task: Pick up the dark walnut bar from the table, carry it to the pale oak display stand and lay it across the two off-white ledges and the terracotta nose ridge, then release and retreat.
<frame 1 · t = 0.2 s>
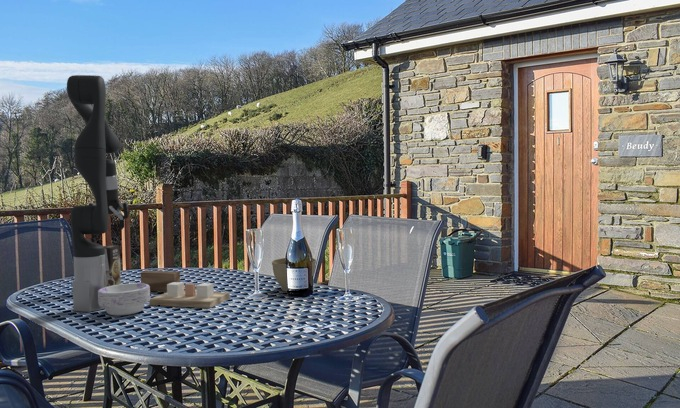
hand: (110, 229, 213), 22 cm above the table, tool pointing down, fingers open, 8 cm apart
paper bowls: (125, 313, 174), on the table
walnut bar: (161, 290, 207), on the table
display stand: (190, 301, 187), on the table
planter bowl: (294, 290, 204), on the table
coffee box: (108, 289, 211), on the table
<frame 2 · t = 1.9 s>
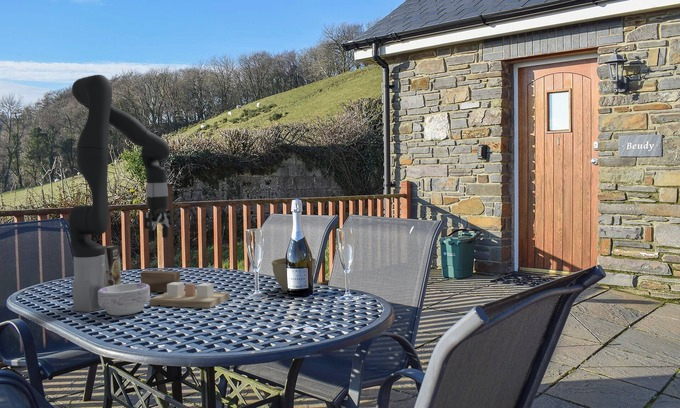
hand: (158, 239, 206), 19 cm above the table, tool pointing down, fingers open, 8 cm apart
nothing on the table moved.
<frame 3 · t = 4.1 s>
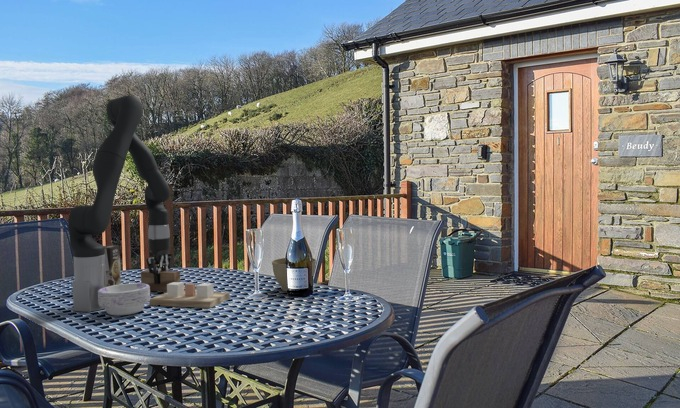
hand: (160, 282, 207), 3 cm above the table, tool pointing down, fingers closed on walnut bar, 4 cm apart
walnut bar: (161, 290, 207), on the table, touching gripper
everything else where it was.
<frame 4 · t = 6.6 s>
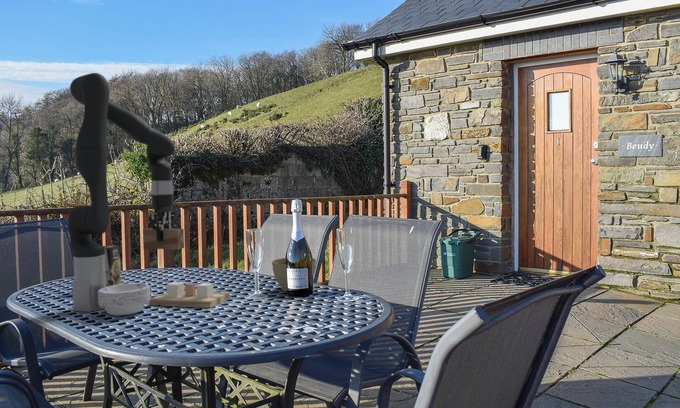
hand: (163, 240, 202), 19 cm above the table, tool pointing down, fingers closed on walnut bar, 4 cm apart
walnut bar: (163, 248, 202), point 16 cm above the table, touching gripper
everything else where it was.
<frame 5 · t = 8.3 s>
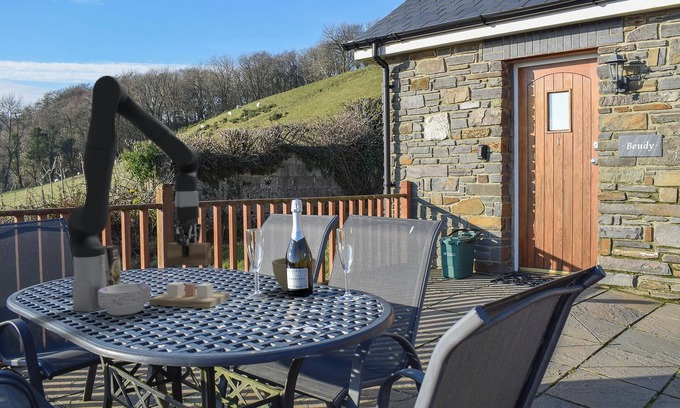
hand: (189, 255, 186), 16 cm above the table, tool pointing down, fingers closed on walnut bar, 4 cm apart
walnut bar: (189, 264, 187), point 13 cm above the table, touching gripper
everything else where it was.
when the fingers open (10 cm above the table, at t = 9.6 s): walnut bar drops 1 cm, resting on display stand.
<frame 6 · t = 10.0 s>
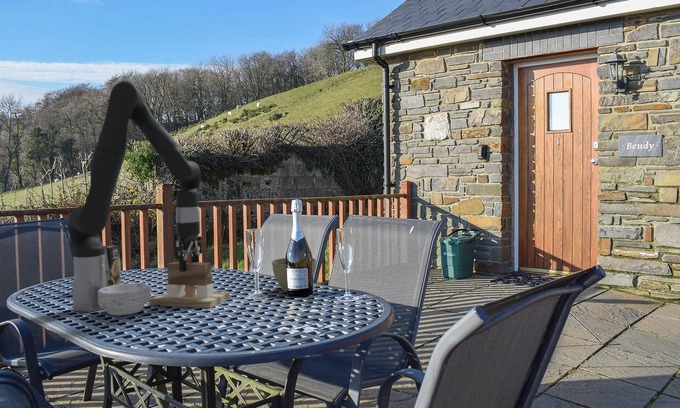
hand: (189, 269, 186), 11 cm above the table, tool pointing down, fingers open, 7 cm apart
walnut bar: (189, 283, 186), point 6 cm above the table, touching display stand
everything else where it was.
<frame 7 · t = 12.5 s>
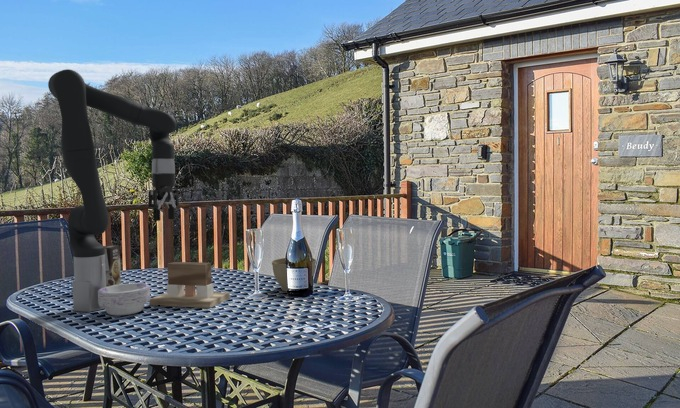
hand: (164, 219, 190), 27 cm above the table, tool pointing down, fingers open, 8 cm apart
nothing on the table moved.
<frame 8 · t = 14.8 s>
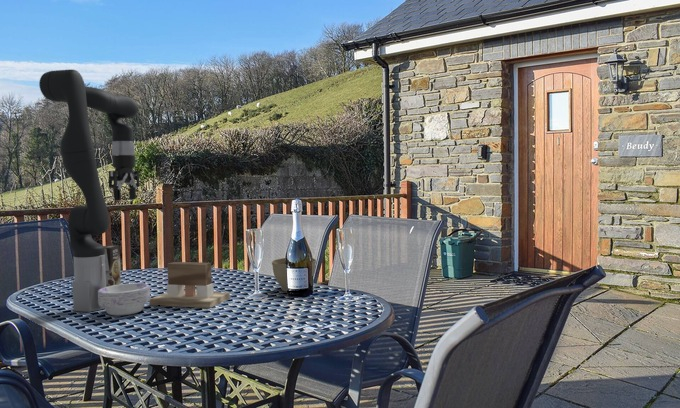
hand: (125, 199, 199), 34 cm above the table, tool pointing down, fingers open, 8 cm apart
nothing on the table moved.
at the end: walnut bar 0.0 cm off-centre on the display stand, point 6.0 cm above the display stand's base; walnut bar tilted 0°; the gripper is holding nothing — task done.
